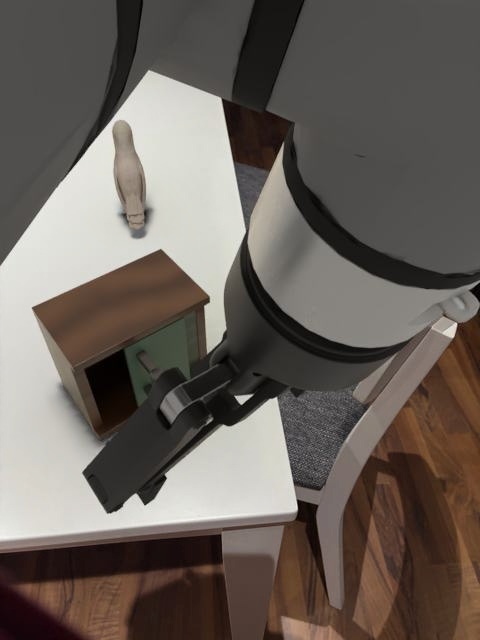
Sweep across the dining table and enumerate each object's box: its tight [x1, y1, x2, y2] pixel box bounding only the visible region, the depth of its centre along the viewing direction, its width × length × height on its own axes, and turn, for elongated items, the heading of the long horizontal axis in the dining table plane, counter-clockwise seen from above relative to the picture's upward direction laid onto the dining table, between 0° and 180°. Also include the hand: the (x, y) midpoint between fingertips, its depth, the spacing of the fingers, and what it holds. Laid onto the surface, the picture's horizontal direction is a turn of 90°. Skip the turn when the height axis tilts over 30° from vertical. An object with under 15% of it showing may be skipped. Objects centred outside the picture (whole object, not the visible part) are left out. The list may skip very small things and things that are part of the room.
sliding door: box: [123, 317, 190, 407], centre depth 58 cm, size 5×7×11 cm
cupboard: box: [31, 248, 211, 442], centre depth 61 cm, size 10×16×14 cm, turn 128°
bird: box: [111, 119, 149, 230], centre depth 84 cm, size 5×14×15 cm, turn 13°
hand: (219, 429), depth 38 cm, fingers open, 13 cm apart
